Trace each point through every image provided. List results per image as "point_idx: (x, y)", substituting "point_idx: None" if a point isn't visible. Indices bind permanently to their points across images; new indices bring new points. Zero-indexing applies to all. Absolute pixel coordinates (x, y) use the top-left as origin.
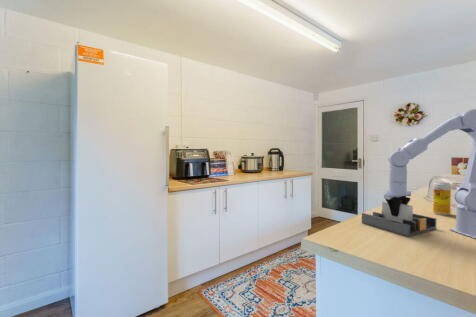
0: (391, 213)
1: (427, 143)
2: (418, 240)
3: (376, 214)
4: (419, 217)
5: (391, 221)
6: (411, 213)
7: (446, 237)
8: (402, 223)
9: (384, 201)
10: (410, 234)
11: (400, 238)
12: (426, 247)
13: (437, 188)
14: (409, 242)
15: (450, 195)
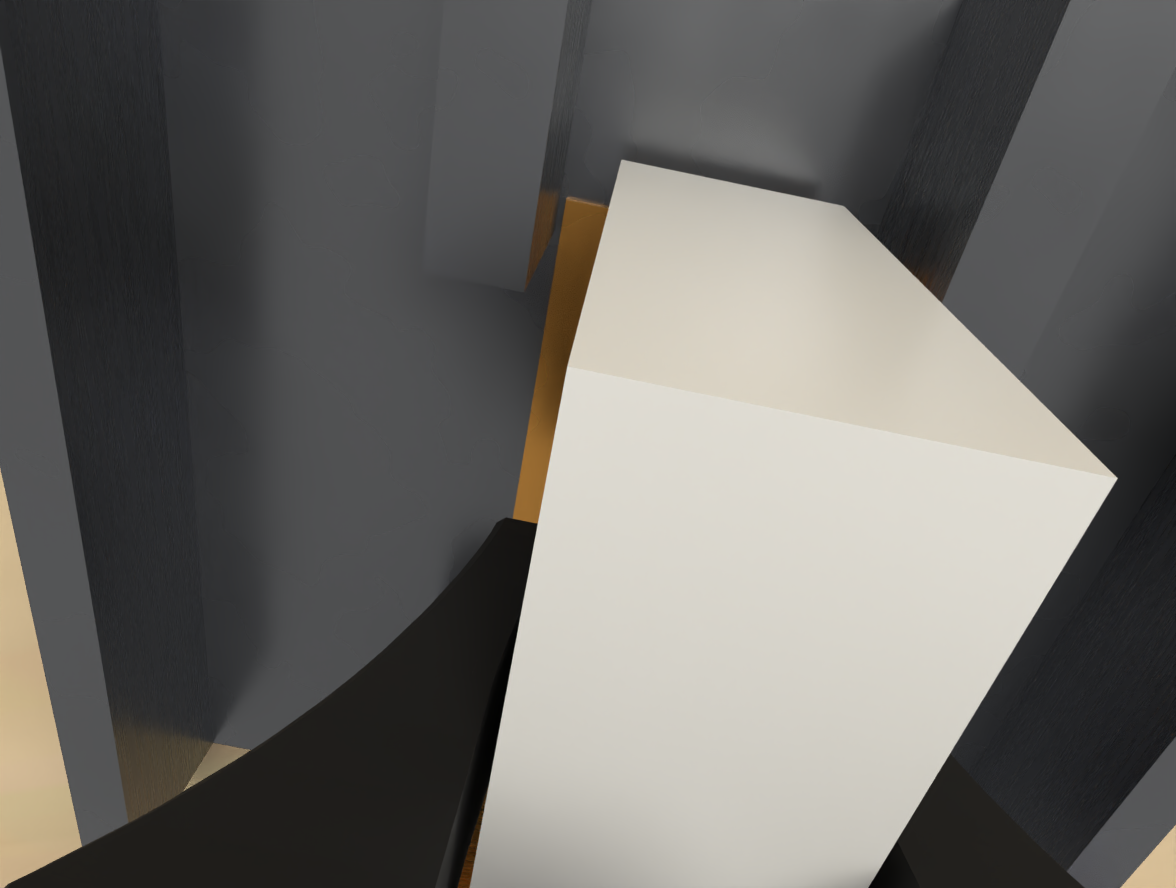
0: (483, 548)
1: None
2: (189, 786)
3: (458, 37)
4: (1051, 819)
5: (43, 631)
6: None
7: None
8: (102, 788)
9: (760, 448)
10: (232, 733)
11: (34, 656)
12: (59, 856)
13: None
14: (16, 744)
15: None
